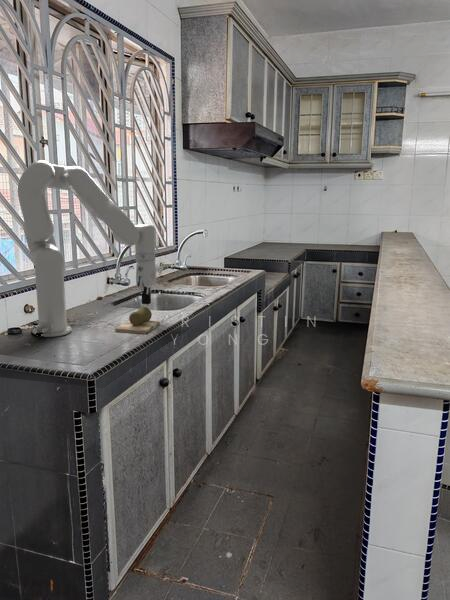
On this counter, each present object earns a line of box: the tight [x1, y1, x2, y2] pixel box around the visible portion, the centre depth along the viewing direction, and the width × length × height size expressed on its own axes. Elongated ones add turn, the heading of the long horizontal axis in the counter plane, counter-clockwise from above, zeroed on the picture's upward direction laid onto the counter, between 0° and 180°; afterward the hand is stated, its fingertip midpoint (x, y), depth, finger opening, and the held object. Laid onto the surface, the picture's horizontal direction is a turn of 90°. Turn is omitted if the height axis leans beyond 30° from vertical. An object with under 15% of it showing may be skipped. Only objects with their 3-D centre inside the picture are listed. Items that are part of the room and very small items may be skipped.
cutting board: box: [115, 320, 161, 335], centre depth 184 cm, size 14×12×1 cm
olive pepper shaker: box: [128, 306, 153, 326], centre depth 187 cm, size 6×6×11 cm
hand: (146, 303), depth 191 cm, fingers closed
